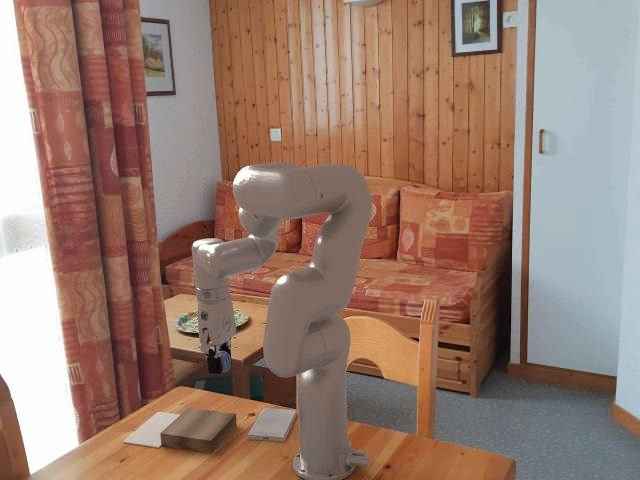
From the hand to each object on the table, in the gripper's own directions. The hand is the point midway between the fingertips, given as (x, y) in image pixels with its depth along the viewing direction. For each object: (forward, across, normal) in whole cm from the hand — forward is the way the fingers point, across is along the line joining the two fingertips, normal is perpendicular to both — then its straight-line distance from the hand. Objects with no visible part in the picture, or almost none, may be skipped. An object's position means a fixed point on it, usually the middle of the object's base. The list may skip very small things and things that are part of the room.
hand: (220, 368), depth 149 cm
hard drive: (+12, -3, -14) cm, 19 cm away
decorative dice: (+1, 0, 0) cm, 1 cm away
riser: (+11, -11, 0) cm, 16 cm away
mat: (+11, -11, +11) cm, 19 cm away
